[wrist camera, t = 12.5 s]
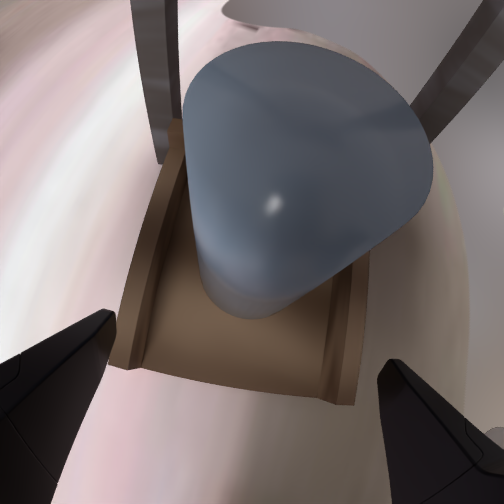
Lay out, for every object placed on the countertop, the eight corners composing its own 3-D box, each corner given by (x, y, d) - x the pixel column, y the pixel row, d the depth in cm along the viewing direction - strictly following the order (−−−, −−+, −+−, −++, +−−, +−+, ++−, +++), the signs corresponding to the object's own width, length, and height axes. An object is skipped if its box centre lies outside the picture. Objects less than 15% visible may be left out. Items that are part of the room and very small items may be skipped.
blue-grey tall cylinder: (311, 309, 18) (466, 224, 6) (207, 327, 17) (197, 260, 5) (289, 215, 19) (376, 53, 8) (193, 226, 18) (178, 43, 7)
